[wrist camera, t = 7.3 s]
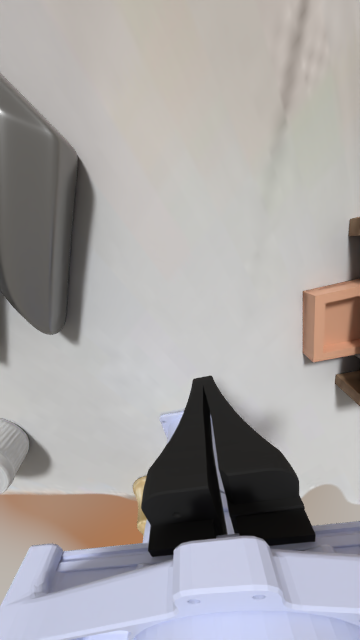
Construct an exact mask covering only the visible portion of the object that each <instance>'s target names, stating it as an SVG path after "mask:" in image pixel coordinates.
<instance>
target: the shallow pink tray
mask: <svg viewBox="0 0 360 640" xmlns="http://www.w3.org/2000/svg"><path fill="white" fill-rule="evenodd" d="M303 353H304V354H305V355H306V356H307V357H308V358H309V359H310V360H311V361H312V362H318V361H323V360H328V359H334V358H339V357H344V356H349V355H355V354H360V278H359V279H355V280H350V281H346V282H342V283H337V284H333V285H328V286H324V287H320V288H315V289H311V290H306V291H303Z"/></svg>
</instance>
